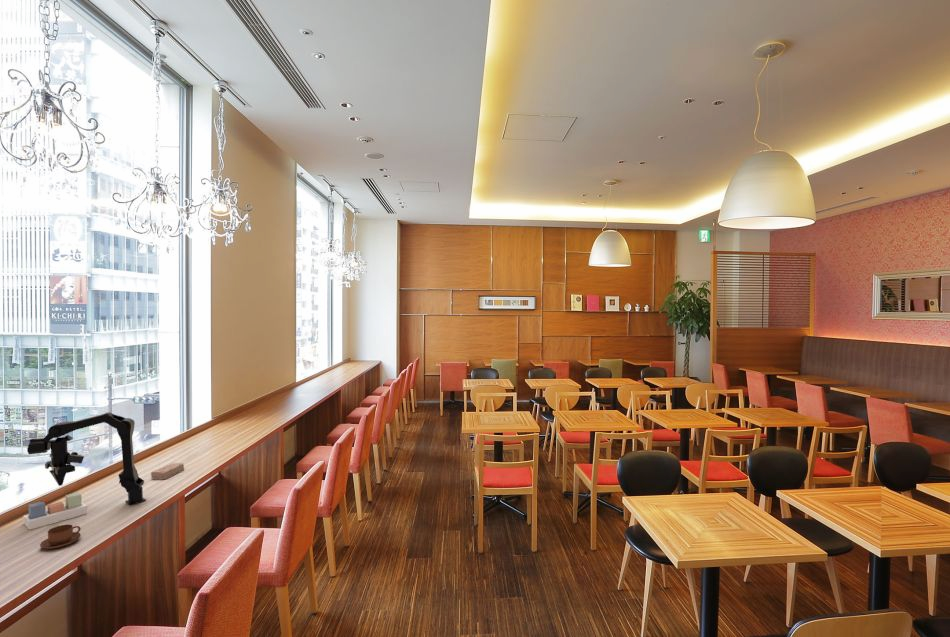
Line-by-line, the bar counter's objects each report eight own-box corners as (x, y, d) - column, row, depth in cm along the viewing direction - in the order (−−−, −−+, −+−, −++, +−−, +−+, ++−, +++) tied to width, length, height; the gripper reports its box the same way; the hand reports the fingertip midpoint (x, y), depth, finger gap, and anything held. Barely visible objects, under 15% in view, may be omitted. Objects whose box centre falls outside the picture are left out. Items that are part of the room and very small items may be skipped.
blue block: (45, 517, 206) (45, 503, 206) (31, 521, 203) (30, 507, 203) (42, 514, 209) (42, 501, 209) (28, 518, 205) (28, 504, 205)
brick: (170, 470, 275) (170, 462, 275) (185, 469, 274) (184, 461, 274) (150, 480, 258) (150, 472, 258) (165, 480, 258) (165, 471, 258)
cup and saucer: (67, 535, 195) (66, 520, 195) (88, 538, 191) (87, 523, 191) (32, 549, 183) (31, 533, 183) (54, 553, 180) (53, 537, 180)
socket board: (87, 513, 216) (86, 505, 216) (29, 529, 200) (29, 521, 200) (80, 508, 222) (80, 500, 222) (23, 523, 206) (23, 515, 206)
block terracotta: (64, 517, 211) (63, 504, 211) (50, 521, 208) (50, 507, 208) (61, 514, 214) (60, 501, 214) (47, 518, 210) (47, 505, 210)
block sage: (81, 507, 216) (81, 494, 216) (68, 511, 213) (68, 497, 212) (78, 505, 219) (78, 492, 219) (65, 508, 215) (65, 495, 215)
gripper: (88, 449, 218) (89, 483, 218) (74, 444, 229) (75, 476, 229) (57, 456, 209) (58, 491, 209) (44, 449, 219) (45, 483, 220)
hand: (60, 485), depth 217 cm, fingers closed
